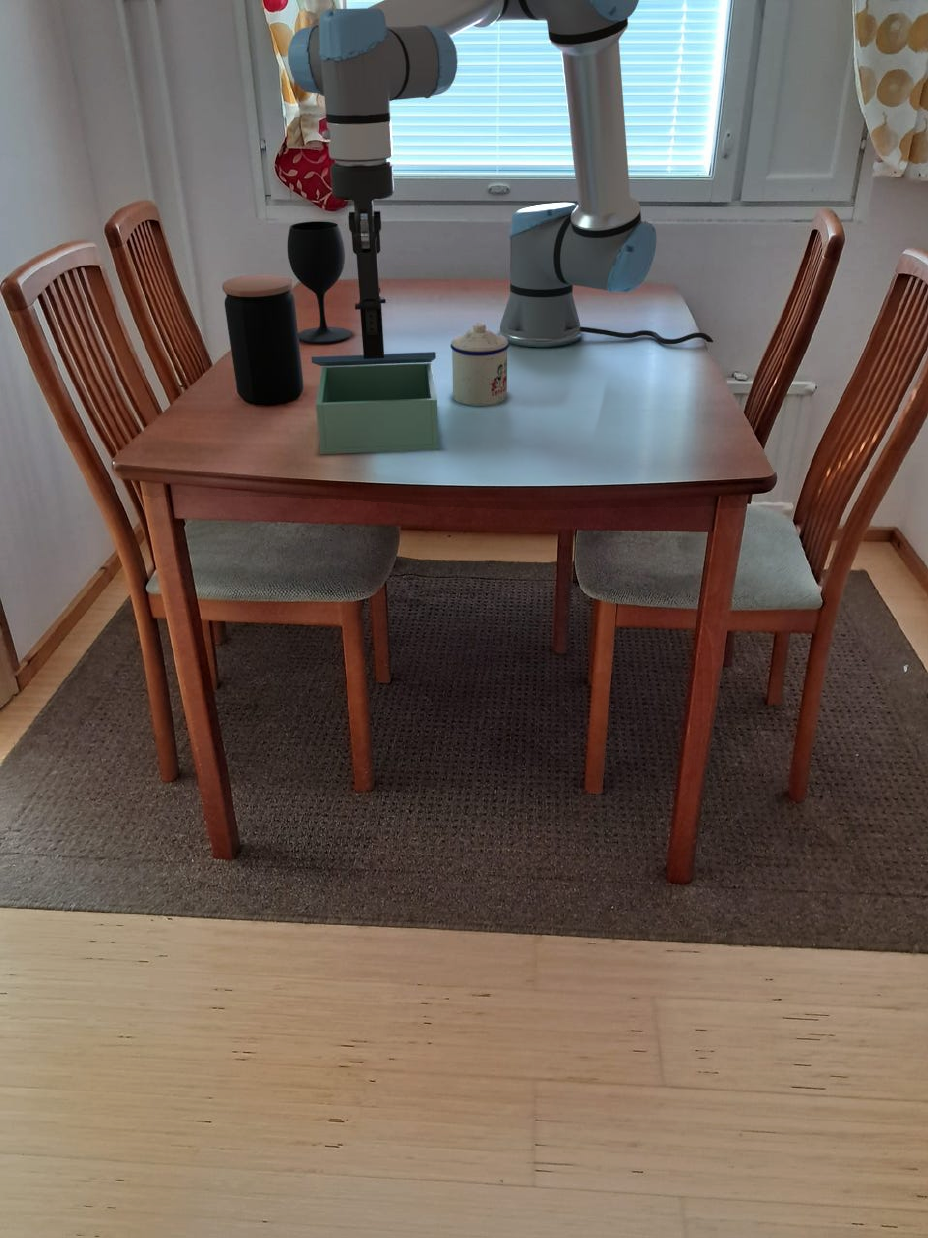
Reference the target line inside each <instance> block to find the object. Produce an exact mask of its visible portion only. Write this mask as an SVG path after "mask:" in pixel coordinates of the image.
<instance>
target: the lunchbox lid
mask: <svg viewBox="0 0 928 1238" xmlns="http://www.w3.org/2000/svg"><path fill="white" fill-rule="evenodd" d="M436 353H437V352H435V351H428V352H427V351H426V352H405V353H384V358H373V359H364V356H363V354H352V355H351V354H349V355H348V354H347V355H322V356H321V355H320V356H310V357H311V358H310V359H311V363H312V364H314V365H317V366H320V367H329V366H356V365H383V364H409V363H432V362H433V361H434V360H436V358H437V357H436V355H437V354H436Z"/></svg>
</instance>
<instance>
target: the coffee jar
mask: <svg viewBox="0 0 928 1238" xmlns="http://www.w3.org/2000/svg"><path fill="white" fill-rule="evenodd" d="M221 288H222V291H223V292H224V294H225V296H226V297H225V299H224V311H225V316H226V324H227V333H228V338H229V345H230V352H231V358H232V365H233V373H234V379H235V386H236V393H237V395H238V396H239V397H240V398H241V399H242V401H243V402H244V403H246V404H248V405H250V406H257V407H277V406H282V405H283V406H284V405H286V404H291V403H293V402H295V401H297V400H298V399H299V398H300V397H301V395H302V393H303V392H304V387H305V386H304V376H303V368H302V367H303V366H302V358H301V357H302V356H301V348H300V341H299V337H298V334H299V329H298V320H297V311H296V300H295V295H294V294H293V293H292V292H291V290H292V289H293V279H292V278H291V277H289V276H286V275H281V274H270V273H259V274H246V275H241V276H236V277H232V278H228V279H227V280H225V281H223V282H222V285H221Z"/></svg>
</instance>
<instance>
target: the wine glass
mask: <svg viewBox="0 0 928 1238" xmlns="http://www.w3.org/2000/svg"><path fill="white" fill-rule="evenodd" d="M287 258H288V263H289V265H290V269H291V271H292V273H293V275H294V276H295V277H296V279H297V280H298V281H299V282H300V283H301V284H302V285H303V286H304V287H306V288H307V289H308V290H309V291H311V292H313V293H314V294H315V296H316V299H317V304H318V312H319V326H318V327H313V328H308V329H304V330H301V331H300V332H298V337H299V342H301V343H305V344H307V345H308V344H310V345H331V344H337V343H342V342H345V341H347V340H348V339H350V338H351V337H352V332H351V331H350V330H348V329H347V328H343V327H338V326H328V324H327V320H326V313H325V295H326V293H327V292H328V291H329V290H330V289H331V288H332V287H333V286H334V285H335V284H336V283H337V282H338V280H339V279H340V277H341V276H342V273H343V271H344V268H345V263H346V249H345V243H344V239H343V236H342V232H341V229H340V227H339V224H338V223H336V222H333V221H331V222H330V221H325V220H324V221H319V220H317V221H303V222H297V223H294V224H291V225H290V226H289V229H288V235H287Z"/></svg>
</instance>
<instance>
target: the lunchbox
mask: <svg viewBox="0 0 928 1238" xmlns="http://www.w3.org/2000/svg"><path fill="white" fill-rule="evenodd" d="M433 372H434V371H433V365H432V362H426V363H399V364H372V365H345V366H321V370H320V376H319V383H318V389H317V395H316V397H317V398H316V401H315V402H316V403H315V409H316V418H317V427H318V429H317V430H318V437H319V438H318V439H319V449H320V455H335V454H336V455H337V454H360V453H361V454H363V453H385V452H386V453H387V452H408V451H410V452H411V451H431V450H432V451H433V450H434V451H435V450H439V424H438V422H439V421H438V420H439V419H438V398H437V392H436V385H435V379H434V373H433Z"/></svg>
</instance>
